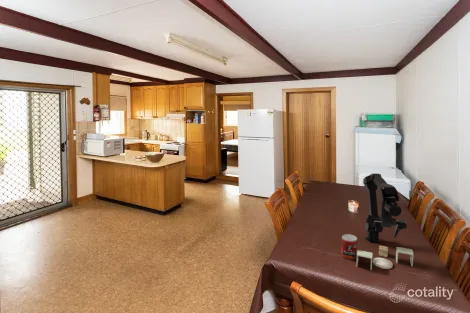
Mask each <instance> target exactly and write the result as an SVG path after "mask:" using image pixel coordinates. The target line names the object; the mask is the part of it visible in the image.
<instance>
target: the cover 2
mask: <svg viewBox="0 0 470 313" xmlns="http://www.w3.org/2000/svg"><path fill="white" fill-rule="evenodd" d="M399 254H404V255H409V258H410V259H409V260H410V261H409V262H410V266H411V267H413V266H414V265H413V264H414V251H413V249H411V248H407V247H399V246H396V250H395V262H396V264H398V263H399V261H398V260H399Z"/></svg>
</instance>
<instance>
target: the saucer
mask: <svg viewBox="0 0 470 313" xmlns="http://www.w3.org/2000/svg"><path fill="white" fill-rule="evenodd" d="M372 265H374V266H375V267H378V268H380V269H385V270H389V269H393V267H394V266H393V265H394V264H393V262H392V261H391V260H389V259H387V258H386V257H385V258H384V257H373V258H372Z"/></svg>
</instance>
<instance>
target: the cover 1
mask: <svg viewBox="0 0 470 313" xmlns="http://www.w3.org/2000/svg"><path fill="white" fill-rule="evenodd" d="M359 257H363V258H367V259H370V271H372V270H373V252H370V251H365V250H360V249H357V255H356V261H355V262H356V264H355V267H356V268H358V266H359V264H358V263H359Z"/></svg>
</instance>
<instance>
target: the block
mask: <svg viewBox="0 0 470 313" xmlns="http://www.w3.org/2000/svg"><path fill="white" fill-rule="evenodd" d="M378 247H379V248H378V256H380V257H383V258H384V257H385V258H387V257H388V252H389V249H388V248H389V247H388V246H385V245H378Z"/></svg>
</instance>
